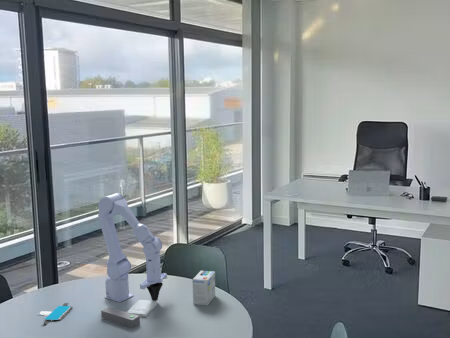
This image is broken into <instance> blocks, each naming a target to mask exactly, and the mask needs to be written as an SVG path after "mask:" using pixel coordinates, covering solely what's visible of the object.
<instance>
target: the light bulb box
mask: <svg viewBox="0 0 450 338" xmlns="http://www.w3.org/2000/svg"><path fill="white" fill-rule="evenodd" d="M215 296H216V271H214V270H213V271H212V270H209V271H208V270H199V272H198V273H197V274H196V275H195V276H194V277H193V278H192V303H193V305H200V306H209V304H211V302H212V301H213V299H214V298H215Z"/></svg>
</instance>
